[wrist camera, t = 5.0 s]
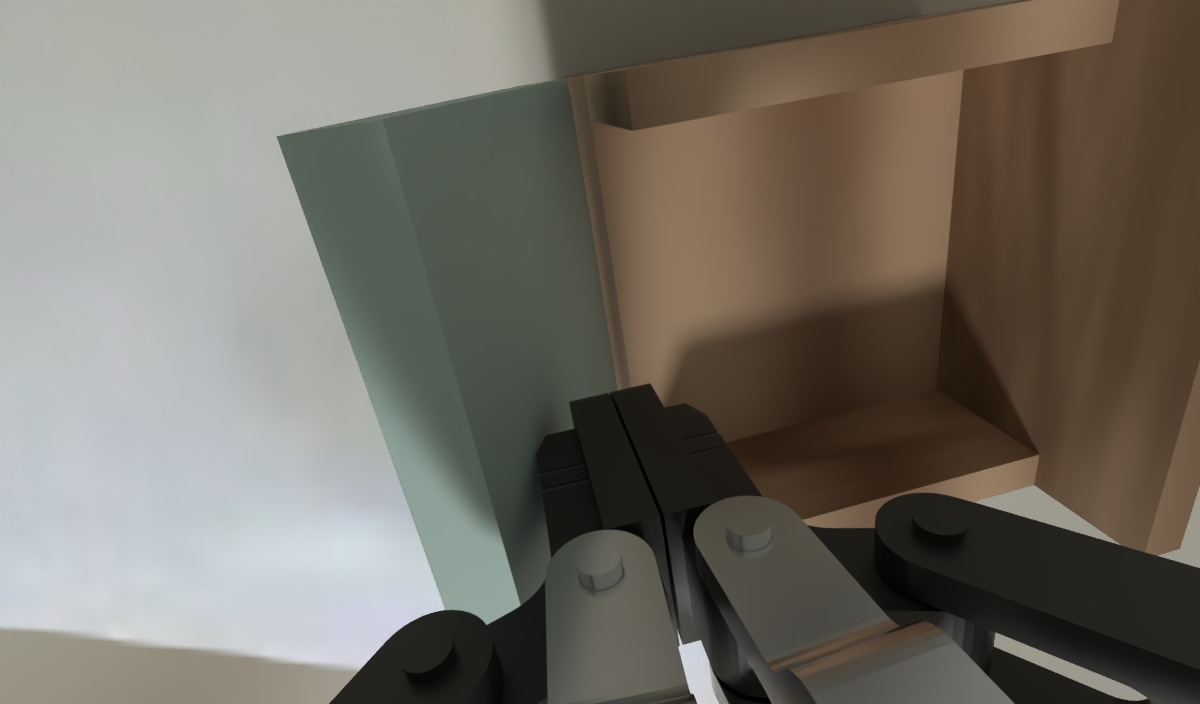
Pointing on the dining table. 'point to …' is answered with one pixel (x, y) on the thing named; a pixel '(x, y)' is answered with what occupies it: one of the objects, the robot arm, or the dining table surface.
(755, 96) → the brown wooden open box
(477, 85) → the dining table surface
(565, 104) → the panel
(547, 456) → the robot arm
